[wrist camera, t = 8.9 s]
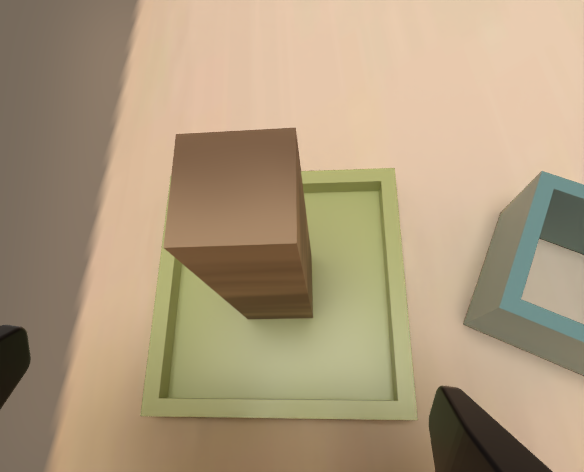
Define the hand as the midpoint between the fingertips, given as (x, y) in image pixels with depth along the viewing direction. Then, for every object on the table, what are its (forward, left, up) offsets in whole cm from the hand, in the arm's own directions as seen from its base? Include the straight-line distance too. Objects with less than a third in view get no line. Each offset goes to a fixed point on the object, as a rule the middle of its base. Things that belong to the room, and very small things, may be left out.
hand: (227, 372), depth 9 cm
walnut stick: (+5, -1, -13) cm, 14 cm away
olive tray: (+5, -1, -13) cm, 14 cm away
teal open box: (+2, -15, -13) cm, 20 cm away
